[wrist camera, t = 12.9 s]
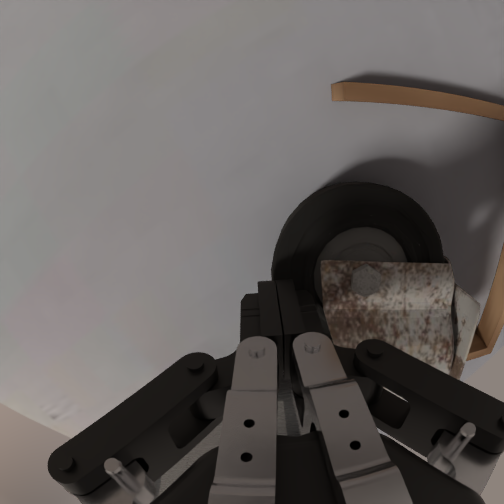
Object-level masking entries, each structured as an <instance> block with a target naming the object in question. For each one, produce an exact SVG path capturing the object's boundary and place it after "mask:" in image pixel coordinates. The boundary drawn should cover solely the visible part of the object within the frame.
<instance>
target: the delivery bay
mask: <svg viewBox="0 0 504 504" xmlns="http://www.w3.org/2000/svg"><path fill="white" fill-rule="evenodd" d="M331 89H332V101H358V102H376V103H390V104H401V105H411V106H420V107H428V108H436V109H443V110H450V111H456V112H462V113H468V114H473V115H478V116H483V117H488V118H493V119H497V120H502V121H504V106H502V105H498V104H495V103H491V102H487V101H482V100H478V99H474V98H469V97H464V96H459V95H454V94H449V93H443V92H437V91H431V90H425V89H418V88H410V87H402V86H393V85H383V84H371V83H356V82H341V83H336V84H331ZM503 325H504V244H503V248H502V252H501V256H500V260H499V264H498V268H497V271H496V275H495V278H494V281H493V285H492V288H491V291H490V294H489V297H488V300H487V303H486V306H485V309H484V312H483V314H482V317H481V320H480V322H479V325H478V328H477V330H476V332H475V333H474V337H473V340H472V343H471V347H470V350H469V353H468V356H467V359H466V361H468V360H471V359H475V358H478V357H481V356H484V355H487V354H490V353H491V352H492V349H493V347H494V345H495V343H496V341H497V339H498V336H499V334H500V332H501V329H502V327H503Z"/></svg>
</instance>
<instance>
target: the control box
mask: <svg viewBox="0 0 504 504" xmlns="http://www.w3.org/2000/svg"><path fill="white" fill-rule="evenodd" d="M291 389H292V385H291V379H284V375H283V380H279V393H278V435H284V436H292V437H297V436H301V434H300V429H299V425H298V421H297V416H296V412H295V408H294V404H293V400H292V395H291ZM221 428H222V422H221V423H220V424H219V425H218V426H217V427H216V428H215V429H214V430H213V431H212V432H210V433H209V434H208V435H207V436H206V437H205V438H204V439H203V440H202V441H201V442H200V443H199V444H198V445H196V446H195V447H194V448H193V449H192V450H191V451H190V452H189V453H188V454H187V455H185V456H184V457H183V458H182V459H181V460H180V461H179V462H178V463H176V464H175V465H174V466H173V467H172V468H171V469H169V470H168V471H167V472H166V473H165V474H164V475H162V476H161V477H160V478H159V479H158V480H156V481H155V482H154V484H155V487H156V493H155V496H154V498H153V500H152V501H151V502H153V501H154V500H155V499H156V498H157V497H158V496H159V495H160V494H161V493H163V492H164V491H165V490H166V489H167V488H168V487H169V486H170V485H171V484H172V483H173V482H174V481H175V480H177V479H178V478H179V477H180V476H181V475H182V474H183V473H184V472H185V471H186V470H187V469H188V468H189V467H190V466H191V465H192V464H193V463H194V462H195V461H196V460H197V459H198V458H199V457H201V456H202V455H203V454H205V453H206V452H208V451H209V450H211V449H213V448H215V447H217V446H219V442H220V435H221ZM151 502H150V503H151ZM150 503H149V504H150Z"/></svg>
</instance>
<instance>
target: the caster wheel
mask: <svg viewBox="0 0 504 504" xmlns="http://www.w3.org/2000/svg"><path fill="white" fill-rule="evenodd" d="M271 275H272V281H275V282H276V280H288V279H293V282H294V286H295V290H307V291H308V292H309V293H310V294H311V295H312V296H313V299H314V302H315V305H316V308H317V312H318V315H319V318H320V321H321V324H322V328H323V331H324V334H325V335H326V336H327V337H328V338H329V339H330V340H331V342H332V343H333V344H334V345H337V346H340V347H345V348H353V349H356V347H357V345H358V344H359V343H360V342H362V341H364V340H367V339H378V340H382V341H384V342H386V343H388V344H390V345H392V346H394V347H396V348H398V349H400V350H402V351H404V352H405V353H407V354H409V355H411V356H413V357H415V358H417V359H419V360H421V361H423V362H425V363H427V364H429V365H431V366H432V367H434V368H436V369H438V370H440V371H442V372H444V373H446V374H448V375H450V376H452V377H454V378H456V379H458V380H459V379H460V376H461V374H462V371H463V368H464V365H465V362H466V359H467V356H468V353H469V350H470V347H471V343H472V340H473V337H474V333H475V330H476V326H477V322H478V319H479V315H480V303H478V302H477V301H476V300H475V299H474V298H472V297H471V296H470V295H469V294H467V293H466V292H465V291H464V290H463V289H461V288H460V287H459V286H458V285H456V284H455V283H454V275H453V271H452V267H451V263H450V261H449V259H448V258H446V257H445V256H443V250H442V245H441V240H440V237H439V234H438V232H437V230H436V228H435V226H434V223H433V222H432V220H431V219H430V217H429V216H428V214H427V213H426V212H425V211H424V209H423V208H422V207H421V206H420V205H419V204H417V203H416V202H415V201H414V200H413V199H412V198H410V197H408V196H407V195H405V194H403V193H402V192H400V191H398V190H395V189H393V188H390V187H388V186H383V185H378V184H374V183H367V182H345V183H338V184H335V185H332V186H329V187H325V188H323V189H321V190H319V191H317V192H315V193H313V194H312V195H310V196H309V197H308V198H307V199H305V200H304V201H303V202H302V203H300V204H299V206H298V207H297V208H296V209H295V210H294V211H293V213H292V214H291V215H290V216H289V217H288V219H287V221H286V223H285V224H284V226H283V228H282V230H281V233H280V236H279V239H278V241H277V244H276V247H275V251H274V256H273V262H272V268H271ZM275 287H276V285H275ZM384 389H386V388H385V387H384ZM386 390H387V391H389V392H391V391H390V390H388V389H386ZM391 393H393V392H391ZM393 394H394V395H396V396H398V395H397V394H395V393H393ZM398 397H400V396H398ZM400 398H401V399H404V398H402V397H400Z"/></svg>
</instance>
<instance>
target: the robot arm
mask: <svg viewBox="0 0 504 504" xmlns="http://www.w3.org/2000/svg"><path fill="white" fill-rule="evenodd" d="M275 285H276V287H275ZM283 372H284V379H291V385H292V389H291V395H292V400H293V404H294V408H295V412H296V416H297V421H298V425H299V429H300V434H301V436H297V437H292V436H284V435H278V393H279V380H283ZM384 387H385V388H386V389H388V390H390V391H391V392H393V393H395V394H397V395H398V396H400V397H402V398H404V399H405V400H407V401H408V402H406V401H405V400H403V399H401V398H400V397H398V396H396V395H394V394H393V393H391V392H389V391H387V390H386V389H384ZM221 422H222V428H221V435H220V442H219V446H217V447H215V448H213V449H211V450H209V451H208V452H206V453H205V454H203V455H202V456H201V457H199V458H198V459H197V460H196V461H195V462H194V463H193V464H192V465H191V466H190V467H189V468H188V469H187V470H186V471H185V472H184V473H183V474H182V475H181V476H180V477H179V478H178V479H177V480H175V481H174V482H173V483H172V484H171V485H170V486H169V487H168V488H167V489H166V490H165V491H164V492H163V493H161V494H160V495H159V496H158V497H157V498H156V499H155V500H154V501H153V502H151V501H152V500H153V498H154V496H155V493H156V487H155V484H154V482H155V481H156V480H158V479H159V478H160V477H161V476H162V475H164V474H165V473H166V472H167V471H168V470H169V469H171V468H172V467H173V466H174V465H175V464H176V463H178V462H179V461H180V460H181V459H182V458H183V457H184V456H185V455H187V454H188V453H189V452H190V451H191V450H192V449H193V448H194V447H195V446H196V445H198V444H199V443H200V442H201V441H202V440H203V439H204V438H205V437H206V436H207V435H208V434H209V433H210V432H212V431H213V430H214V429H215V428H216V427H217V426H218V425H219V424H220V423H221ZM377 428H379V429H380V430H382V431H383V432H385V433H387V434H388V435H390V436H392V437H393V438H395V439H396V440H398V441H400V442H401V443H403V444H405V445H406V446H408V447H410V448H411V449H413V450H415V451H416V452H418V453H420V454H421V455H423V456H425V457H427V459H428V462H426V461H425V460H423V459H421V458H420V457H418V456H417V455H415V454H414V453H412V452H410V451H409V450H407V449H406V448H404V447H403V446H401V445H400V444H398V443H397V442H395V441H394V440H392V439H391V438H389V437H387V436H385V435H383V434H380V433H379V432H378V430H377ZM503 452H504V402H502V401H499V400H497V399H495V398H493V397H492V396H489V395H488V394H486V393H484V392H482V391H479V390H478V389H475V388H474V387H472V386H469V385H468V384H466V383H464V382H462V381H460V380H458V379H456V378H454V377H452V376H450V375H448V374H446V373H444V372H442V371H440V370H438V369H436V368H434V367H432V366H431V365H429V364H427V363H425V362H423V361H421V360H419V359H417V358H415V357H413V356H411V355H409V354H407V353H405V352H404V351H402V350H400V349H398V348H396V347H394V346H392V345H390V344H388V343H386V342H384V341H382V340H378V339H367V340H364V341H362V342H360V343H359V344H358V345H357V347H356V349H353V348H345V347H340V346H337V345H334V344H333V343H332V342H331V340H330V339H329V338H328V337H327V336H326V335H325V334H324V331H323V328H322V324H321V321H320V318H319V315H318V312H317V308H316V305H315V302H314V299H313V296H312V295H311V294H310V293H309V292H308V291H307V290H295V286H294V282H293V279H288V280H276V282H275V281H259V282H258V293H254V294H246V295H245V296H244V298H243V299H242V300H241V323H240V344H239V345H238V347H237V350H236V351H235V352H234V353H232V354H231V355H229V356H226V357H223V358H220V359H216V360H214V358H213V357H212V356H210V355H208V354H206V353H201V352H196V353H190V354H187V355H185V356H184V357H182V358H181V359H179V360H178V361H177V362H175V363H174V364H173V365H172V366H170V367H169V368H168V369H166V370H165V371H164V372H162V373H161V374H160V375H158V376H157V377H156V378H154V379H153V380H152V381H150V382H149V383H148V384H146V385H145V386H144V387H142V388H141V389H140V390H138V391H137V392H136V393H134V394H133V395H132V396H130V397H129V398H128V399H126V400H125V401H124V402H122V403H121V404H119V405H118V406H117V407H115V408H114V409H113V410H111V411H110V412H108V413H107V414H106V415H104V416H103V417H101V418H100V419H99V420H97V421H96V422H94V423H93V424H92V425H90V426H89V427H87V428H86V429H85V430H83V431H82V432H80V433H79V434H78V435H76V436H75V437H73V438H72V439H70V440H69V441H68V442H66V443H65V444H63V445H62V446H60V447H59V448H57V449H56V450H55V451H54V452H53V453H52V454H51V455H50V458H49V460H48V471H49V473H50V475H51V476H52V477H53V479H55V480H56V481H57V482H58V483H59V484H60V485H62V486H63V487H64V488H65V489H66V491H67V492H69V493H70V494H71V495H73V496H74V497H75V498H77V499H78V500H79V501H80V502H81V503H82V504H149V503H150V502H151V503H150V504H485V502H484V501H483V499H482V498H481V496H480V495H481V493H482V491H483V490H484V488H485V486H486V484H487V482H488V480H489V478H490V476H491V474H492V472H493V470H494V468H495V466H496V463H497V461H498V459H499V457H500V455H501V454H502V453H503Z"/></svg>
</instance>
